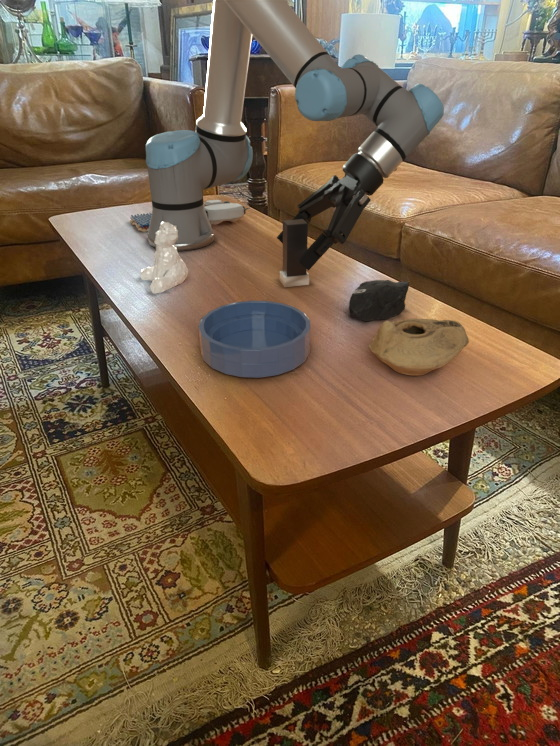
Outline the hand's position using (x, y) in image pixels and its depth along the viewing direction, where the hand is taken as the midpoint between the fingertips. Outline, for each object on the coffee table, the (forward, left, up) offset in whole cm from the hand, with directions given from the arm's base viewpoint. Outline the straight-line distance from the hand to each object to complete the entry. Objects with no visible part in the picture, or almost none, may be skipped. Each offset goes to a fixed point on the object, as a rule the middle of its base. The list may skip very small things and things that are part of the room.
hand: (291, 253), depth 104 cm
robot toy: (-47, -5, -6) cm, 48 cm away
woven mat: (-47, -22, -6) cm, 52 cm away
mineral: (+17, +10, -6) cm, 20 cm away
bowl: (+25, -13, -6) cm, 29 cm away
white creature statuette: (-7, -23, -6) cm, 25 cm away
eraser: (0, +1, -6) cm, 6 cm away
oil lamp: (+35, +9, -6) cm, 37 cm away
